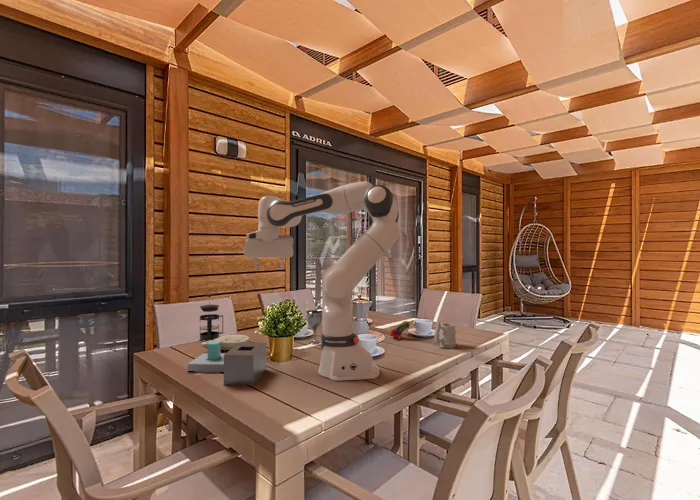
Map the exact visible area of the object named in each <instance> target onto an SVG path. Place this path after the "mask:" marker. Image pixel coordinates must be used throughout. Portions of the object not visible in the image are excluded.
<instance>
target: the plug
mask: <svg viewBox="0 0 700 500" xmlns="http://www.w3.org/2000/svg"><path fill="white" fill-rule="evenodd" d="M221 351H222V350H221V342H210V343H209V344H208V349H207V353H208V360H217V361H218V360H219V359H221V353H222V352H221Z"/></svg>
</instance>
